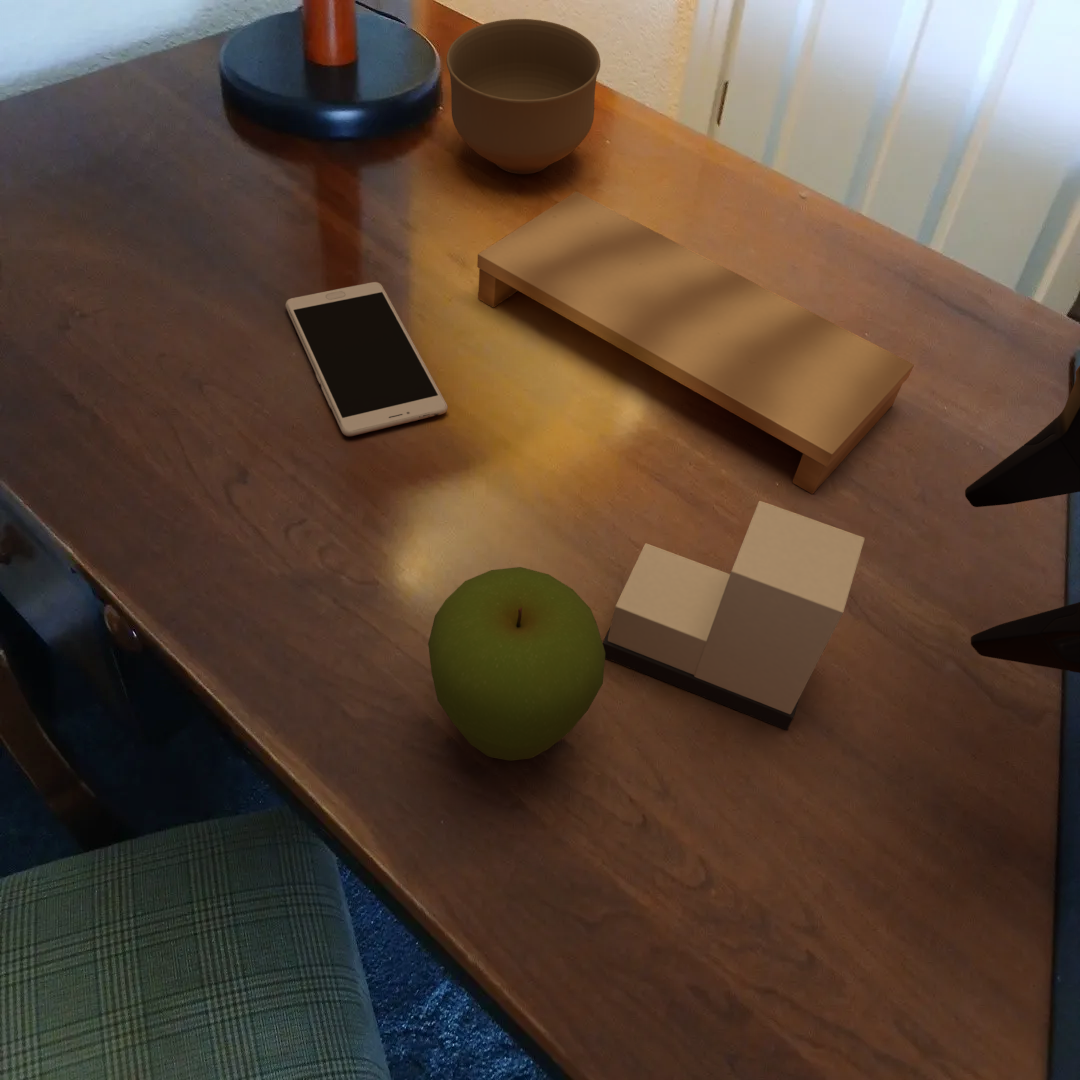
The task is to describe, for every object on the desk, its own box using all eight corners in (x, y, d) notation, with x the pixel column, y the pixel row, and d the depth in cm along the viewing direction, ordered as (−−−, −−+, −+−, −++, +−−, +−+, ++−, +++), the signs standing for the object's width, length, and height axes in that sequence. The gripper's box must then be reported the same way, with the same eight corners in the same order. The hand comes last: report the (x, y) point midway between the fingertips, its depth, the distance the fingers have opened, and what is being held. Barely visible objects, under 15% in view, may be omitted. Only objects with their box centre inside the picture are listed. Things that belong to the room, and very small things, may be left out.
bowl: (415, 160, 92) (414, 47, 84) (511, 111, 99) (518, 2, 91) (523, 221, 87) (532, 107, 80) (616, 166, 94) (632, 55, 86)
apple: (617, 756, 56) (651, 635, 47) (482, 833, 53) (492, 718, 44) (530, 640, 61) (547, 509, 52) (400, 703, 57) (394, 575, 48)
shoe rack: (895, 406, 76) (914, 364, 73) (814, 496, 70) (832, 454, 67) (571, 233, 87) (576, 190, 84) (475, 297, 80) (477, 253, 77)
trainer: (809, 657, 61) (869, 537, 53) (786, 730, 58) (847, 615, 50) (631, 589, 64) (661, 463, 55) (599, 656, 60) (626, 533, 52)
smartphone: (380, 279, 80) (450, 408, 71) (380, 286, 80) (450, 415, 72) (282, 298, 77) (343, 434, 69) (283, 305, 78) (344, 441, 69)
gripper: (1252, 159, 42) (889, 328, 51) (1384, 486, 30) (880, 627, 40) (1336, 350, 47) (992, 472, 57) (1478, 695, 35) (1011, 775, 45)
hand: (971, 568), depth 49 cm, fingers open, 9 cm apart
